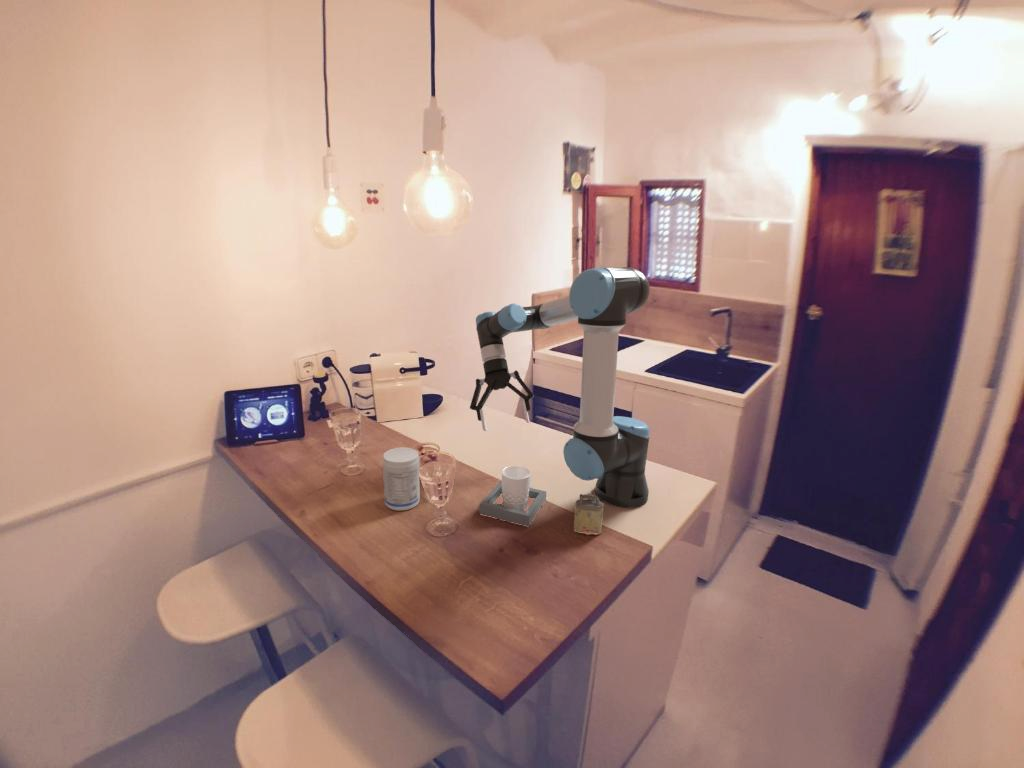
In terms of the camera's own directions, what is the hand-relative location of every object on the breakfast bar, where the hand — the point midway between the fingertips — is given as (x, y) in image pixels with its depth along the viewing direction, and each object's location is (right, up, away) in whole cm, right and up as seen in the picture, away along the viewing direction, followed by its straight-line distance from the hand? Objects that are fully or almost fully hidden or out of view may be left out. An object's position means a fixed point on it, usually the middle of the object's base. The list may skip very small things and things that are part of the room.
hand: (506, 426), depth 153 cm
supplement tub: (-28, -20, -17) cm, 39 cm away
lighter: (+21, -25, -27) cm, 42 cm away
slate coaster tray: (+2, -22, -18) cm, 28 cm away
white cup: (+3, -20, -18) cm, 27 cm away
